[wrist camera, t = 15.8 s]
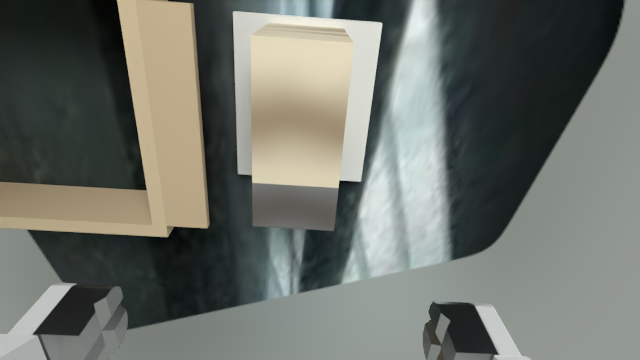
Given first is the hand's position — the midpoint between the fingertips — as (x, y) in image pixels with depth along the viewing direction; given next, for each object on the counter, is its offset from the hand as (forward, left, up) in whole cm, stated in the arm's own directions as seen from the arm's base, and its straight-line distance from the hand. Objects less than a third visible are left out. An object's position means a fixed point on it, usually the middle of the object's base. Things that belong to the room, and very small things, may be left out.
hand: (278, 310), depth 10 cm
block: (0, 0, -20) cm, 20 cm away
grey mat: (0, 0, -21) cm, 21 cm away
